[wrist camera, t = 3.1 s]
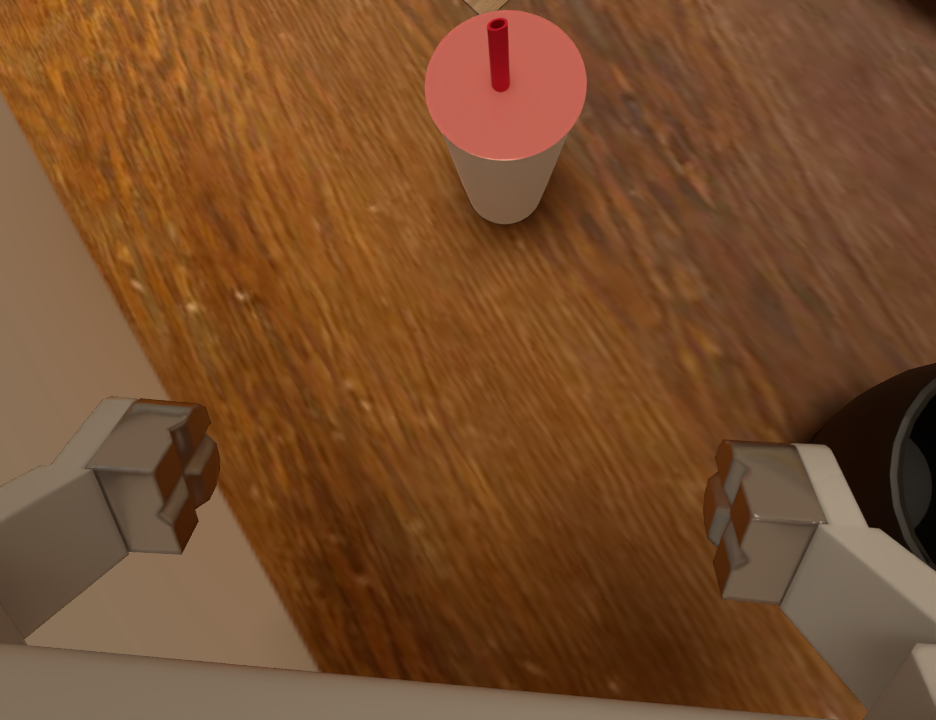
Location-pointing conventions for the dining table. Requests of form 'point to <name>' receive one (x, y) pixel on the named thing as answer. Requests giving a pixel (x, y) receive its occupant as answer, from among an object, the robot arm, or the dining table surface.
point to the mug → (892, 457)
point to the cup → (505, 107)
